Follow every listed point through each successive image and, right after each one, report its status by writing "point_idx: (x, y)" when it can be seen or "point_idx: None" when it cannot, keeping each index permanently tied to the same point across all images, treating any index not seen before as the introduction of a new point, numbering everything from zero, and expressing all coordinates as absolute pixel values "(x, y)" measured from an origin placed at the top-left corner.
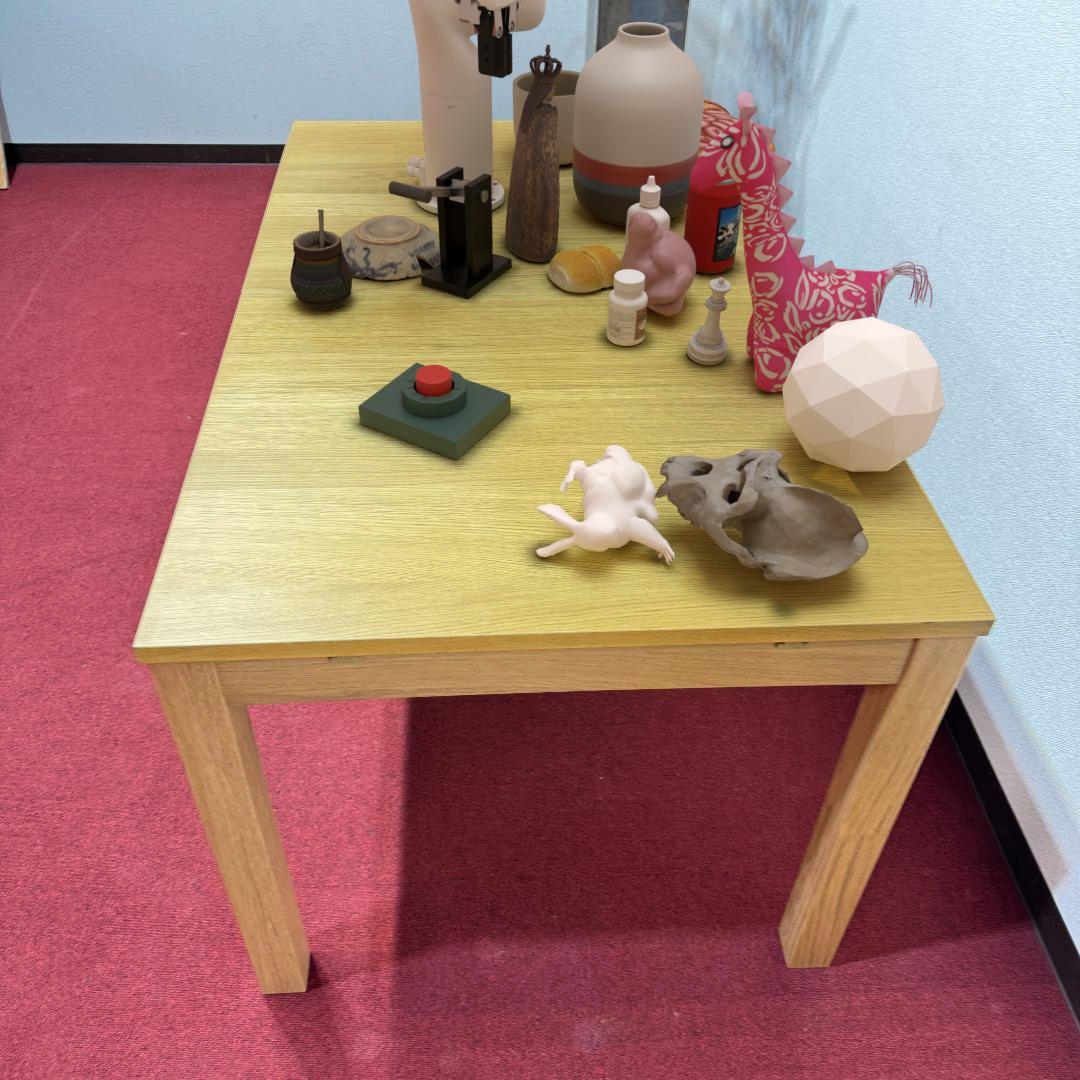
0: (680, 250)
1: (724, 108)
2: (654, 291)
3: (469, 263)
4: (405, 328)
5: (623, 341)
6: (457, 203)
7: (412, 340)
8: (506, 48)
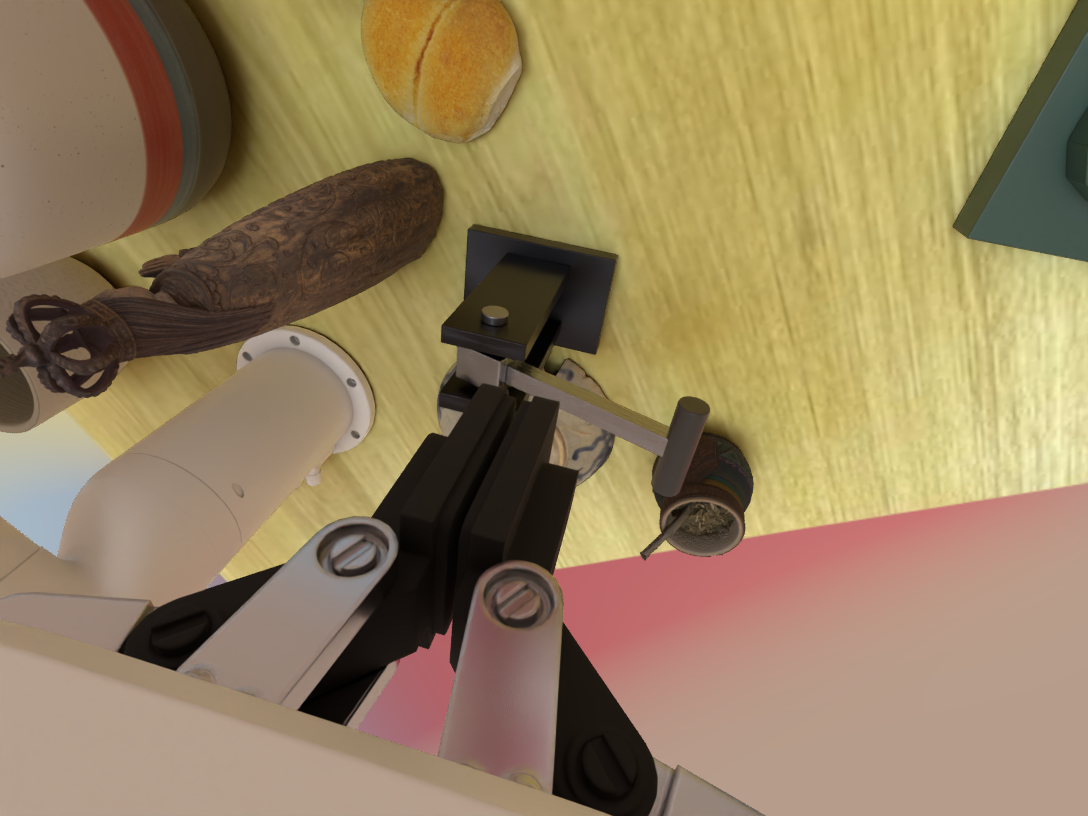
0: None
1: None
2: None
3: (563, 285)
4: (754, 318)
5: None
6: None
7: (796, 291)
8: (499, 480)
